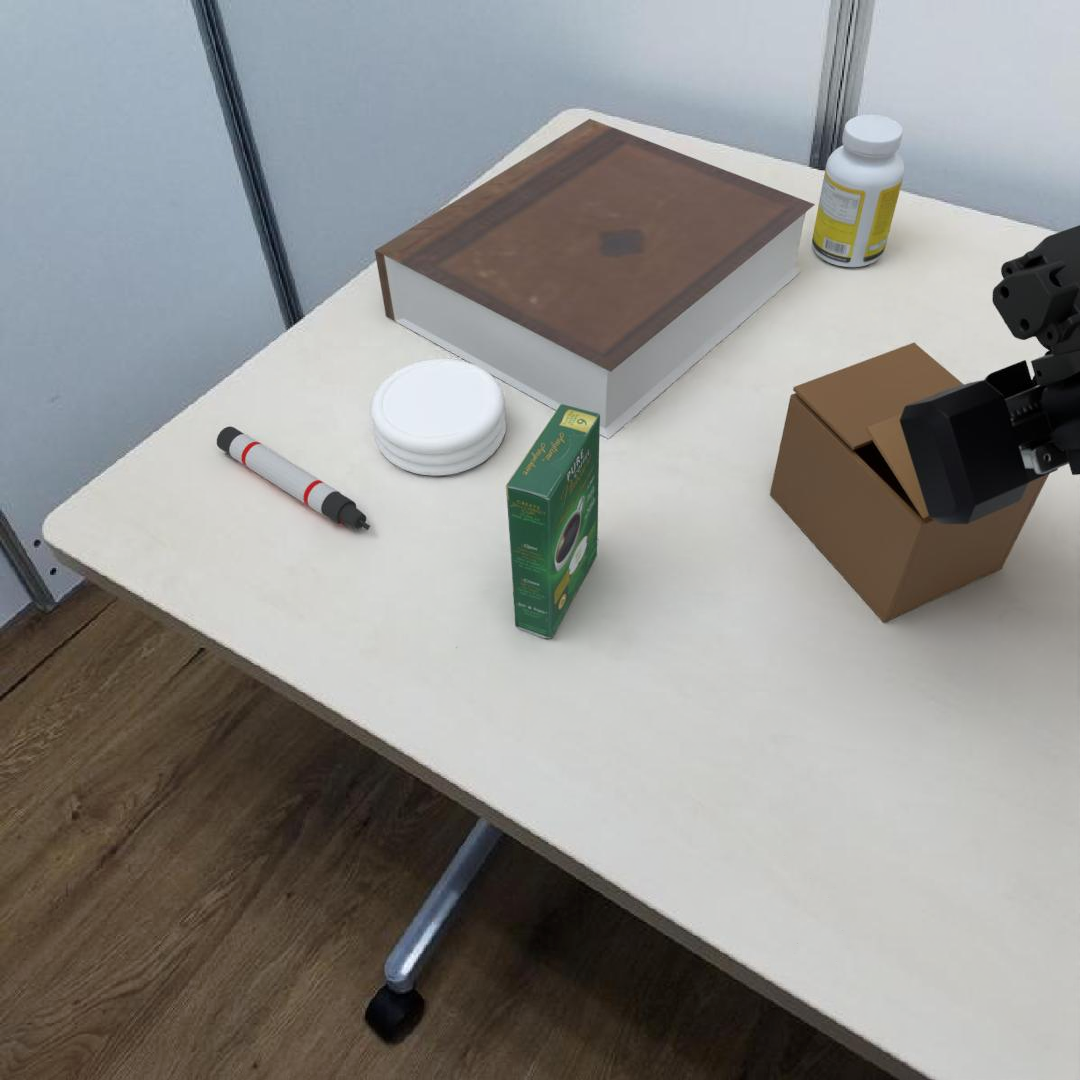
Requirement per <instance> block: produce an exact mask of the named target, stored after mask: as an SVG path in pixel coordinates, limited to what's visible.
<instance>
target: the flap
mask: <svg viewBox="0 0 1080 1080" xmlns="http://www.w3.org/2000/svg"><path fill="white" fill-rule="evenodd" d="M901 415H902V414H900V415H897V416H895V417H892V418H890V419H887V420H885V421H882V422H880V423H877V424H874V425H872V426H869V427H867V429H866V431H867V432H868V434H869V436H870V437H871V439H872V440H873V442H874V443H875V445H876V446H877V448H878V450H879V451H880V453H881V454H882V456H883V457H884V459H885V460H886V462H887V464H888V465H889V467H890V468H891V470H892V471H893V473H894V474H895V476H896V478H897V479H898V481H899V482H900V484H901V485H902V487H903V488H904V490H905V492H906V493H907V495H908V496H909V498H910V499H911V501H912V502H913V504H914V506H915V507H916V509H917V510H918V512H919V513H920V515H921V516H922V518H926V517H928V516H929V515H928V511H927V508H926V505H925V502H924V498H923V495H922V492H921V489H920V485H919V482H918V479H917V476H916V472H915V469H914V466H913V463H912V460H911V456H910V453H909V450H908V447H907V443H906V440H905V437H904V434H903V430H902V427H901V424H900V421H899V420H900V418H901Z"/></svg>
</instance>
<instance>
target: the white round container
mask: <svg viewBox="0 0 1080 1080" xmlns="http://www.w3.org/2000/svg"><path fill="white" fill-rule="evenodd" d="M505 402H506V401H505V394H504V392H503V390H502V387H501V385H500V383H499V382H498V380H497V378H496V377H495V376H493V375H492V374H490V373H488V372H487V371H485V370H484V369H482V368H480V367H478V366H476V365H474V364H472V363H470V362H468V361H465V360H464V361H463V360H458V359H453V358H434V359H426V360H421V361H417V362H414V363H410V364H408V365H406V366H403V367H401V368H400V369H397V370H396V371H394V372H393V373H391V374H390V375H388V376H387V377H386V378H385V379H384V380H383V381H382V382H381V383H380V384H379V385H378V387H377V388H376V390H375V391H374V393H373V396H372V398H371V402H370V403H371V404H370V408H369V409H370V410H369V413H370V419H371V422H372V429H373V432H374V437H375V443H376V445H377V447H378V448H379V450H380V452H381V453H382V455H383V456H384V457H385V458H386V459H387V460H388V461H389V462H390V463H391V464H392V465H394V466H396V467H397V468H399V469H402V470H404V471H407V472H410V473H413V474H416V475H422V476H449V475H450V476H451V475H454V474H459V473H462V472H465V471H468V470H471V469H473V468H475V467H477V466H479V465H481V464H482V463H484V462H485V461H487V460H488V459H489V458H491V456H493V455H494V453H495V452H496V451H498V449H499V448H500V446H501V444H502V442H503V439H504V437H505V434H506V430H507V419H506V407H505Z"/></svg>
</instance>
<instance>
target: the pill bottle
mask: <svg viewBox="0 0 1080 1080" xmlns="http://www.w3.org/2000/svg"><path fill="white" fill-rule="evenodd" d="M903 133H904V129H903V126H902V125H901V124H900V123H899V122H898V121H896V120H895V119H892V118H891V117H887V116H884V115H877V114H862V115H857V116H854V117H852V118H850V119H849V120H848V121H847V122H846V123H845V125H844V128H843V133H842V139H841V142H842V145H840V146H839V147H837V148H836V149H835V150H834V151H833V152H832V153H830V155H829V157H828V159H827V161H826V165H825V170H824V175H823V179H822V185H821V191H820V195H819V201H818V207H817V212H816V216H815V222H814V227H813V233H812V237H811V238H812V239H811V242H812V243H811V245H812V249H813V250H814V252H815V254H816V255H817V256H818V257H820V258H821V260H824V261H825V262H827V263H829V264H833V265H835V266H839V267H846V268H859V267H864V266H869V265H871V264H873V263H875V262H876V261H878V260H879V259H880V258H881V257H882V255H883V254H884V252H885V249H886V246H887V242H888V238H889V234H890V231H891V227H892V222H893V218H894V215H895V211H896V207H897V204H898V199H899V196H900V192H901V187H902V184H903V180H904V175H905V171H906V170H905V162H904V160H903V157H902V156H901V155H900V153H898V152H897V151H898V150H899V149H900V146H901V143H902V137H903Z"/></svg>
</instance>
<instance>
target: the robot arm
mask: <svg viewBox="0 0 1080 1080" xmlns="http://www.w3.org/2000/svg"><path fill="white" fill-rule="evenodd" d="M1000 272H1001V276H1002V278H1003V279H1002V280H1001V281H1000V282H999V283H998V284H996V286H994V287H993V289H992V296H991V297H992V298H991V299H992V304H993V306H994V307H995V309H996V311H997V312H998V313H999V315H1000V317H1001V318H1002V320H1003V322H1004V324H1005V325H1006V327H1007V329H1008V330H1009V331H1010V333H1011V335H1012V337H1014V338H1016V339H1018V340H1021V341H1026V340H1028V339H1031V338H1036V339H1037V341H1038V342H1039V344H1040V345H1041V346H1042V347H1043V348H1044V349H1046V350H1047V351H1046V352H1045V353H1044V355H1043V356H1041V357H1037V358H1035V359H1032V360H1031V361H1030V363H1031V368H1032V371H1033V374H1034V375H1033V377H1031V373H1030V369H1029V366H1028V363H1027V360H1026V359H1024V360H1021V361H1019V362H1016V363H1013V364H1011V365H1008V366H1006V367H1003V368H1000V369H998V370H996V371H995V370H994V371H993V372H991V373H989V374H988V375H987V376H986V377H985V378H984V379H982V380H977V381H971V382H967V383H963V384H964V385H961V386H958V387H954V388H951V389H948V390H945V391H942V392H940V393H937V394H935V395H932V396H929V397H927V398H924V399H922V400H919V401H917V402H914V403H912V404H909V405H906V406H905V408H904V410H903V413H902V415H901V418H900V420H899V421H900V424H901V427H902V430H903V434H904V437H905V440H906V443H907V447H908V450H909V453H910V456H911V460H912V463H913V466H914V469H915V472H916V476H917V479H918V482H919V485H920V489H921V492H922V495H923V498H924V502H925V505H926V508H927V511H928V515H929V518H931V519H933V520H935V521H936V522H938V523H940V524H969V523H971V522H973V521H975V520H978V519H980V518H982V517H985V516H987V515H989V514H991V513H994V512H996V511H998V510H1001V509H1003V508H1005V507H1007V506H1010V505H1012V504H1014V503H1016V502H1019V501H1021V499H1022V497H1023V495H1024V493H1025V491H1026V489H1027V487H1028V484H1029V482H1031V481H1033V480H1036V479H1038V478H1040V477H1043V476H1045V475H1047V474H1049V475H1050V474H1052V473H1054V472H1056V471H1058V470H1059V468H1061V467H1064V466H1067V465H1069V469H1070V472H1071V475H1072V476H1078V475H1080V224H1079V225H1076V226H1074V227H1070V228H1067V229H1065V230H1062V231H1058V232H1056V233H1053V234H1050V235H1048V236H1046V237H1044V239H1042V240H1041V241H1040V242H1039V243H1038V244H1037V245H1036V246H1035V247H1034V248H1033V249H1032V250H1029V251H1026V252H1025V254H1023V255H1022V256H1019V257H1016V258H1014V259H1011V260H1008V261H1006V262H1004V263H1003V264H1002V265H1001V267H1000Z"/></svg>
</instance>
